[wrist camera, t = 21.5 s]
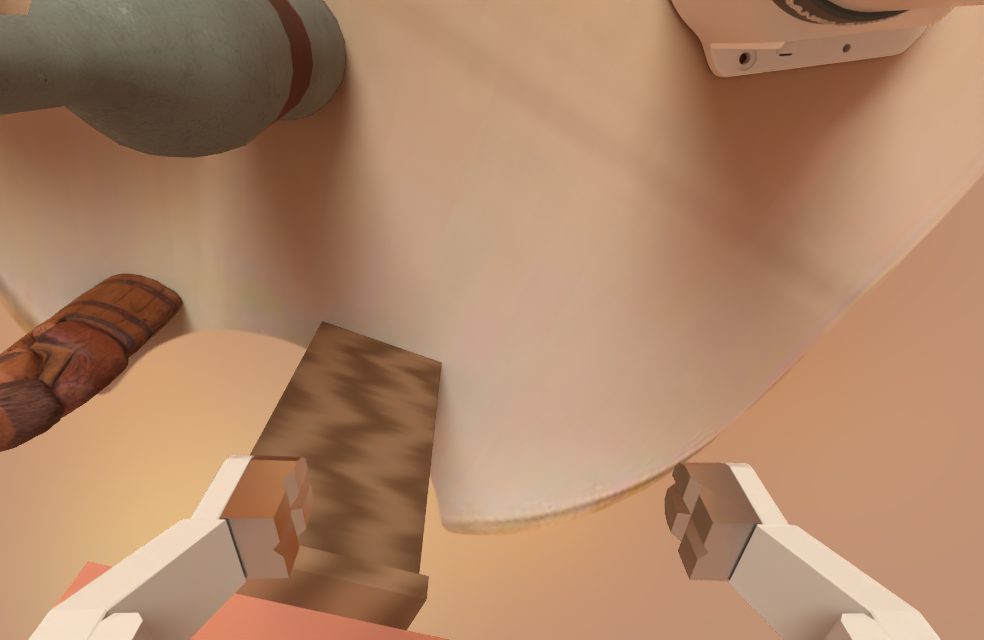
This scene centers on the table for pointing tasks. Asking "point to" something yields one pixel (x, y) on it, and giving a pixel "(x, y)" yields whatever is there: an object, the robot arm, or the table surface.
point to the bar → (271, 620)
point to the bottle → (173, 67)
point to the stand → (357, 477)
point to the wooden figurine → (78, 353)
